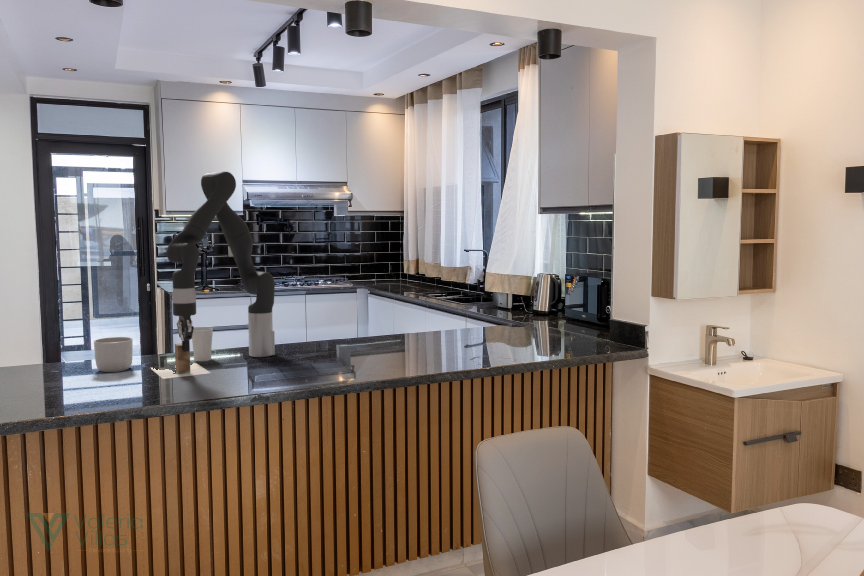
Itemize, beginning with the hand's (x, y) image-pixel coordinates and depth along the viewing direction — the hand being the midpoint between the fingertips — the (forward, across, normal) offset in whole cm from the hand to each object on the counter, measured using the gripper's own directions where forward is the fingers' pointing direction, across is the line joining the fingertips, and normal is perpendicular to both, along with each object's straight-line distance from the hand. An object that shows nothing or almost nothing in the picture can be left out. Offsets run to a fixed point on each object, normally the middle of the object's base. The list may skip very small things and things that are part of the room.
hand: (185, 351), depth 228 cm
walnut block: (+8, +4, 0) cm, 9 cm away
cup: (+9, +23, -12) cm, 27 cm away
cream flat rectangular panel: (+8, +8, 0) cm, 12 cm away
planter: (+9, +22, +19) cm, 30 cm away
